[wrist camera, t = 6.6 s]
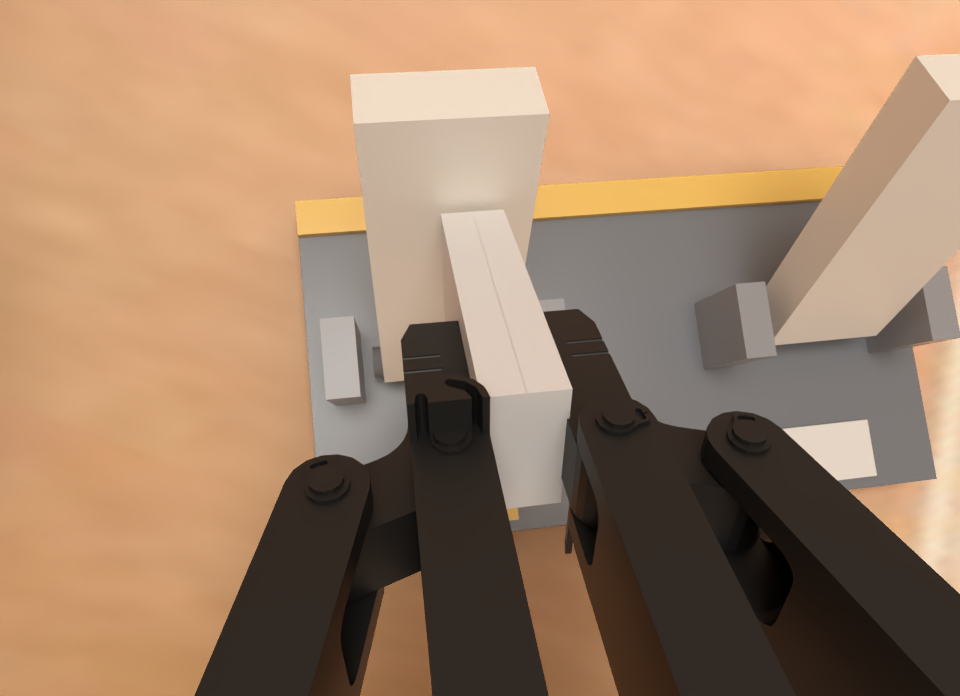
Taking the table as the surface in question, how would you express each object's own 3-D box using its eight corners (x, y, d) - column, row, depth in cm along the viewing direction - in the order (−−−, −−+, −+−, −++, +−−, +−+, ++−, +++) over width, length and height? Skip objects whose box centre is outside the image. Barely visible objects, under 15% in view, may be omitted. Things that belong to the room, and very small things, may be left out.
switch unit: (329, 545, 25) (310, 572, 20) (304, 219, 26) (280, 165, 21) (898, 476, 27) (1012, 483, 22) (846, 183, 29) (941, 127, 24)
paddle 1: (376, 391, 23) (338, 124, 14) (373, 350, 23) (336, 74, 15) (515, 377, 23) (564, 112, 14) (508, 338, 24) (548, 66, 15)
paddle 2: (754, 354, 24) (937, 101, 15) (738, 317, 25) (904, 56, 16) (876, 342, 25) (1120, 91, 16) (857, 306, 26) (1079, 48, 17)
